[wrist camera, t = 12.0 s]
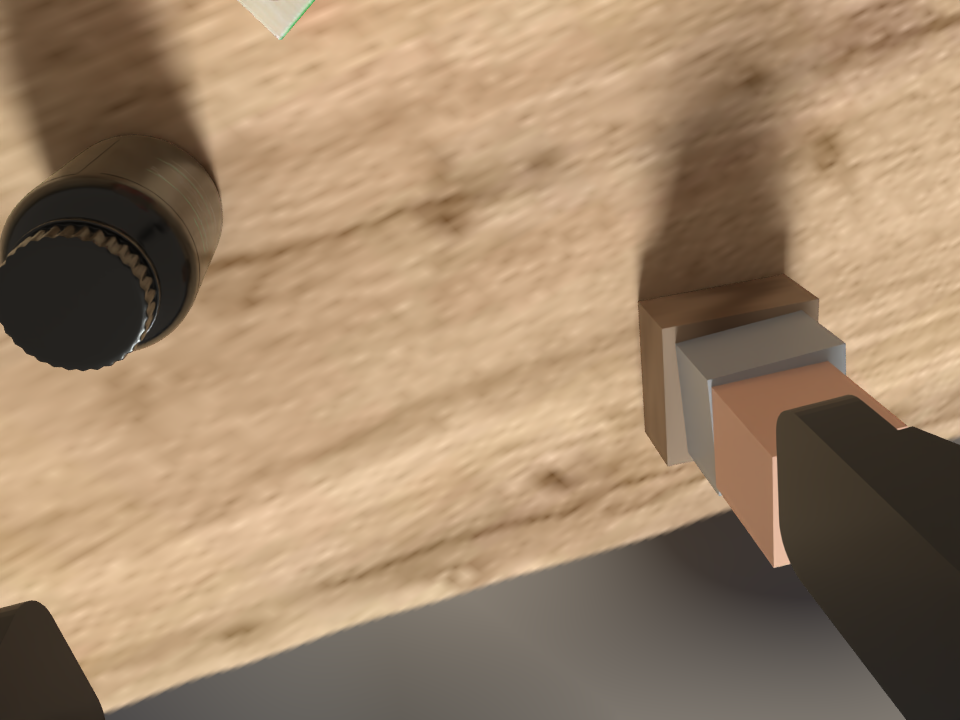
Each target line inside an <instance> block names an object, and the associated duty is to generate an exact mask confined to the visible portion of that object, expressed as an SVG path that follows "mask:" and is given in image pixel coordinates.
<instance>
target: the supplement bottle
mask: <svg viewBox="0 0 960 720" xmlns="http://www.w3.org/2000/svg"><path fill="white" fill-rule="evenodd" d="M222 223H223V212H222V205H221V200H220V197H219V194H218V191H217V189H216V187H215V184H214V182H213V181H212V179H211V177H210V176H209V174H208V173H207V172H206V170H205V169H204V168H203V167H202V166H201V164H200V163H199V162H198V161H197V160H196V159H195V158H193V157H192V156H191V155H190V154H188V153H187V152H186V151H184V150H183V149H181V148H179V147H177V146H176V145H174V144H172V143H169V142H167V141H165V140H162V139H159V138H155V137H151V136H145V135H122V136H116V137H112V138H109V139H106V140H103V141H101V142H99V143H96V144H95V145H93V146H91V147H90V148H88V149H87V150H85V151H84V152H82V153H81V154H79V155H78V156H77V157H75V158H74V159H73V160H71V161H70V162H69V163H68V164H66V165H65V166H64V167H62V168H61V169H60V170H58V171H57V172H56V173H54V174H53V175H52V176H50V177H49V178H48V179H46V180H45V181H44V182H42V183H41V184H40V185H38V186H37V187H36V188H35V189H33V190H32V191H31V192H29V193H28V194H27V195H26V196H25V197H24V198H23V199H22V200H21V201H20V202H19V203H18V204H17V205H16V207H15V208H14V209H13V210H12V212H11V214H10V215H9V217H8V218H7V221H6V223H5V225H4V227H3V230H2V234H1V238H0V323H1V324H2V325H3V326H4V330H5V333H6V334H8V335H9V336H10V337H12V339H13V341H14V343H15V344H16V345H18V346H19V347H21V348H23V350H24V351H25V352H26V354H29V355H32V356H34V357H36V359H37V360H39V361H40V362H46V363H48V364H50V365H51V366H53V367H63V368H65V369H67V370H74V369H78V370H81V371H86V370H88V369H94V370H98V369H100V368H102V367H103V366H112V365H113V364H114V363H115V362H116V361H120V360H123V359H124V358H125V357H126V356H127V354H128V353H131V352H133V351H136V350H140V349H143V348H146V347H148V346H151V345H153V344H155V343H157V342H158V341H160V340H162V339H163V338H165V337H166V336H168V335H169V334H170V333H171V332H172V331H174V330H175V329H176V328H177V327H178V326H179V324H180V323H181V322H182V321H183V319H184V318H185V317H186V315H187V314H188V312H189V310H190V308H191V307H192V305H193V303H194V300H195V298H196V296H197V293H198V291H199V288H200V286H201V284H202V281H203V279H204V276H205V274H206V272H207V269H208V267H209V265H210V262H211V260H212V257H213V255H214V253H215V250H216V248H217V245H218V242H219V239H220V236H221V231H222Z"/></svg>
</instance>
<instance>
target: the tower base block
mask: <svg viewBox="0 0 960 720" xmlns="http://www.w3.org/2000/svg"><path fill="white" fill-rule="evenodd" d="M638 310H639V329H640V347H641V365H642V383H643V401H644V420H645V432H646V434H647V435H648V437H649V438H650V440H651V441H652V443H653V444H654V446H655V448H656V449H657V451H658V452H659V454H660V455H661V457H662V458H663V460H664V461H665V463H666V464H667V466H672V465H677V464H682V463H686V462H691V461H694V460H693V459H692V457H691V456H690V454H689V453H688V447H687V438H686V430H685V421H684V413H683V405H682V396H681V388H680V380H679V371H678V363H677V354H676V346H675V344H676V343H679V342H683V341H687V340H691V339H694V338H698V337H702V336H706V335H710V334H713V333H717V332H721V331H725V330H728V329H732V328H736V327H740V326H743V325H747V324H751V323H755V322H759V321H762V320H766V319H770V318H774V317H777V316H781V315H785V314H789V313H793V312H796V311H800V310H802V311H804V312H805V313H806V314H808V315H809V316H810V317H812V318H813V319H814V320H815V321H817V322H818V313H819V298H817V297H816V296H814V295H813V294H812V293H810V292H809V291H807V290H806V289H804V288H803V287H802V286H800V285H799V284H797V283H796V282H795V281H793V280H792V279H790V278H789V277H787V276H786V275H785V274H782V275H777V276H771V277H766V278H761V279H755V280H750V281H745V282H739V283H734V284H729V285H723V286H718V287H713V288H707V289H702V290H697V291H691V292H686V293H681V294H675V295H670V296H665V297H659V298H654V299H649V300H643V301H638Z"/></svg>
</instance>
